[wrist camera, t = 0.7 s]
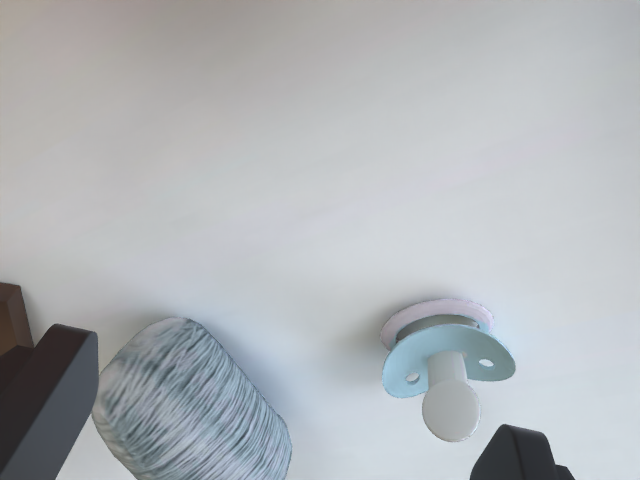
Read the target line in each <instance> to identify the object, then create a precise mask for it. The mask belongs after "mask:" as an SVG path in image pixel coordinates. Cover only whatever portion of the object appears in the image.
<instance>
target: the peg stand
mask: <svg viewBox="0 0 640 480" xmlns="http://www.w3.org/2000/svg"><path fill="white" fill-rule="evenodd" d="M17 345H20V346H25V347H29V348H34V347H33V342H32V338H31V333H30V329H29V324H28V320H27V315H26V311H25V306H24V302H23V298H22V293H21V289H20V286H17V285H12V284H6V283H0V356H1V355H3V354H4V353H6V352H7V351H9V350H10V349H12V348H14V347H15V346H17Z"/></svg>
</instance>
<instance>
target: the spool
mask: <svg viewBox="0 0 640 480" xmlns="http://www.w3.org/2000/svg"><path fill="white" fill-rule="evenodd" d="M91 413H92V418H93V421H94V424H95V426H96V429H97V431H98V433H99V434H100V436H101V437H102V439H103V440H104V442H105V444H106V445H107V447H108V448H109V450H110V451H111V453H112V454H113V455H114V457H115V458H117V459H118V460H119V461H120V462H121V463H122V464H123V465H124V466H125V467H126V468H127V469H128V470H129V471H130V472H131V473H132V474H133V476H134V477H135V478H136V479H137V480H285V477H286V474H287V470H288V467H289V463H290V460H291V454H292V443H291V440H290V436H289V433H288V429H287V426H286V424H285V422H284V420H283V419H282V418H281V417H280V415H278V414H276V413H275V411H274V410H273V409H272V408H271V407H270V406H269V405H268V403H267V402H266V401H265V399H264V398H263V397H262V395H261V394H260V393H259V392H258V391H257V390H256V388H255V387H254V386H253V385H252V384H251V382H250V381H249V380H248V378H247V377H246V375H245V374H244V373H243V372H242V371H241V370H240V368H239V367H238V366H237V365H236V363H235V362H234V361H233V360H232V358H231V357H230V356H229V355H228V354H227V353H226V352H225V351H224V349H223V348H222V346H221V345H220V343H219V342H217V341H216V340H215V339H214V338H213V337H212V336H211V335H210V334H209V333H208V332H207V330H206V329H205V328H204V327H203V326H202V325H201V324H199V323H197V322H195V321H193V320H191V319H188V318H180V317H172V318H167V319H164V320H161V321H158V322H156V323H153V324H150V325H149V326H147V327H146V328H144V329H143V330H142V331H140V332H139V333H138V334H136V335H135V336H134V337H133V338H132V340H130V341H129V342H128V343H127V344H126V345H125V346H124V347H123V348H122V349H121V350H120V351H119V352H118V353H117V355H116V356H115V357H114V358H113V359H112V360H111V362H110V363H109V364H108V365H107V366H106V367H105V368H104V369H103V371H102V372H101V374H100V376H99V386H98V392H97V396H96V400H95V403H94V406H93V408H92V411H91Z"/></svg>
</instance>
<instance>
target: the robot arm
mask: <svg viewBox="0 0 640 480" xmlns="http://www.w3.org/2000/svg"><path fill="white" fill-rule="evenodd" d="M98 386H99V371H98V336H97V333H96V332H93V331H89V330H84V329H80V328H75V327H71V326H66V325H62V324H54V325H52V326H51V327H50V328H49V329H48V330H47V332H46V333H45V334H44V336H43V337H42V339H41V340H40V341H39V343H38V344H37V345H36V347H35V348H29V347H25V346H20V345H17V346H15V347H14V348H12V349H10V350H9V351H7V352H6V353H4V354H3V355H1V356H0V480H55V479H56V477H57V475H58V473H59V471H60V469H61V467H62V466H63V464H64V462H65V460H66V458H67V456H68V454H69V452H70V451H71V449H72V447H73V445H74V443H75V441H76V439H77V438H78V436H79V434H80V432H81V430H82V428H83V426H84V424H85V423H86V421H87V419H88V417H89V415H90V413H91V411H92V408H93V406H94V403H95V400H96V396H97V392H98ZM470 480H575V479H574V477H573V476H572V474H571V473H570V471H569V470H568V468H567V467H565V466H560V465H556V464H555V462H554V459H553V456H552V452H551V449H550V445H549V442H548V440H547V438H546V436H545V435H544V434H543V433H541V432H538V431H534V430H529V429H524V428H520V427H515V426H511V425H506V424H503V425H501V426H500V427H499V428H498V430H497V431H496V433H495V434H494V436H493V437H492V439H491V440H490V442H489V443H488V445H487V447H486V448H485V450H484V451H483V453H482V454H481V456H480V457H479V459H478V460H477V462H476V463H475V465H474V467H473V469H472V472H471V476H470Z"/></svg>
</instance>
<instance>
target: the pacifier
mask: <svg viewBox="0 0 640 480" xmlns="http://www.w3.org/2000/svg"><path fill="white" fill-rule="evenodd" d="M442 314H453V315H461V316H465V317H468V318H471V319H472V320H474V321H475V322H477V324H478V325H477V327H476V328H475V327H472V326H467V325H461V324H440V325H434V326H429V327H426V328H423V329H420V330H418V331H415V332H413V333H411V334H410V335H408V336H406V337H405V338H403V339H402V340H401V341H399V340H398V338H397V334H398V333H399V332H400V331H401V330H402V329H403V328H404V327H405V326H407V325H408V324H410V323H412V322H414V321H416V320H419V319H422V318H425V317H429V316H434V315H442ZM493 326H494V318H493V316H492V314H491V313H490V311H489V310H487V309H486V308H485V307H483V306H482V305H480V304H477V303H475V302H472V301H468V300H461V299H438V300H432V301H425V302H422V303H419V304H415V305H412V306H410V307H408V308H405V309H403V310H401V311H399V312H398V313H396V314H395V315H394V316H392V317H391V318H390V319H389V320H388V321H387V322H386V323H385V324H384V326H383V327H382V330H381V333H380V337H381V342H382V343H383V344H384V346H385V347H386V348H387V349H388V350H390V352H389V354H388V355H387V357H386V360H385V362H384V366H383V372H382V381H383V386H384V388H385V390H386V391H387V393H388V394H390V395H391V396H393V397H397V398H407V397H413V396H416V395H419V394H421V393H424V392H426V391H427V393H426V395H425V397H424V400H423V404H422V415H423V419H424V421H425V424H426V425H427V427H428V429H429V430H430V431H431V432H432V433H433V434H434V435H435V436H436V437H438V438H440V439H441V440H444V441H447V442H459V441H463V440H465V439H467V438H468V437H470V436H471V435H472V434H473V433H474V432H475V430H476V429H477V427H478V424H479V421H480V417H481V408H480V403H479V399H478V397H477V395H476V393H475V392H474V390H473V389H472V388H471V387H470V386H469V385H468V380H467V379H472V380H478V381H501V380H505V379H507V378H509V377H511V376H512V375H513V374H514V372H515V362H514V359H513V357H512V355H511V353H510V351H509V350H508V349H507V348H506V347H505V345H503V344H502V343H501V342H500V341H499V340H498V339H497V338H495V337H494V336H493V335H491V334H490V332H491V330H492V328H493ZM481 359H487V360H490V361H491V362H493V363H494V365H493V366H490V367H487V366H484V365H482V364H480V363H479V360H481ZM414 372H416V373H418V374H419V377H418V378H417V379H416V380H414V381H411V382H409V381H407V380H406V377H407V376H408V375H409V374H411V373H414Z"/></svg>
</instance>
